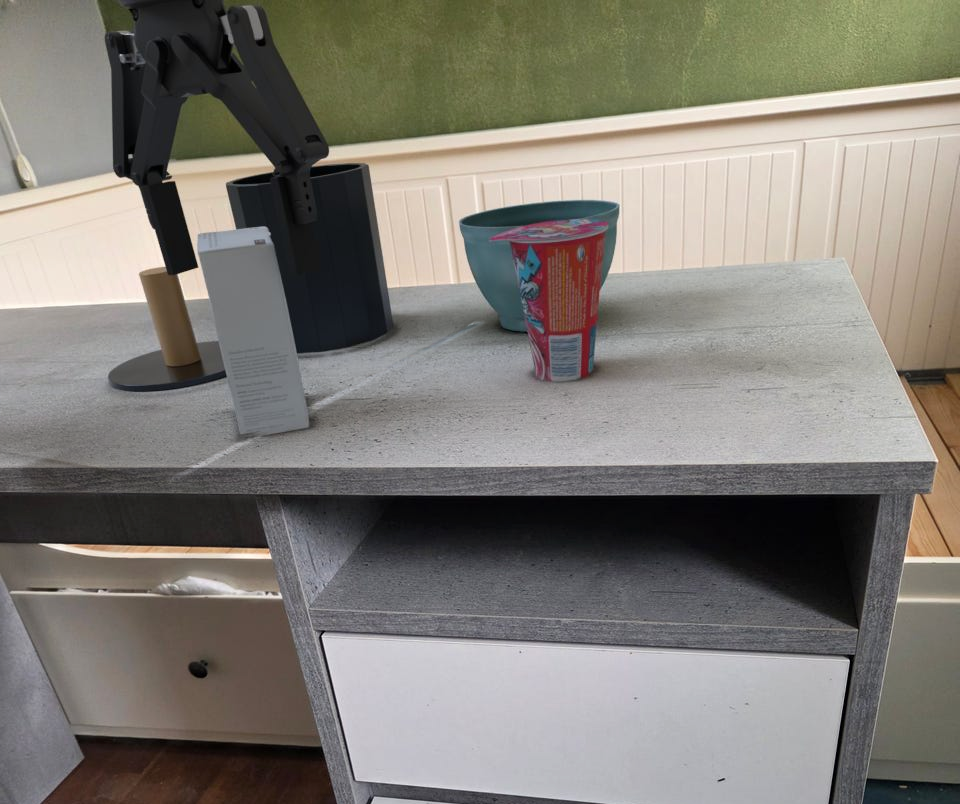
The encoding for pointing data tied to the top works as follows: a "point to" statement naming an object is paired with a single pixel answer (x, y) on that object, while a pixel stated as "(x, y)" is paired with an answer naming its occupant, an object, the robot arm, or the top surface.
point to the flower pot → (495, 257)
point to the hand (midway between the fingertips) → (242, 272)
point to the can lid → (169, 343)
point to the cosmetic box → (253, 330)
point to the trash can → (327, 257)
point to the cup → (559, 292)
